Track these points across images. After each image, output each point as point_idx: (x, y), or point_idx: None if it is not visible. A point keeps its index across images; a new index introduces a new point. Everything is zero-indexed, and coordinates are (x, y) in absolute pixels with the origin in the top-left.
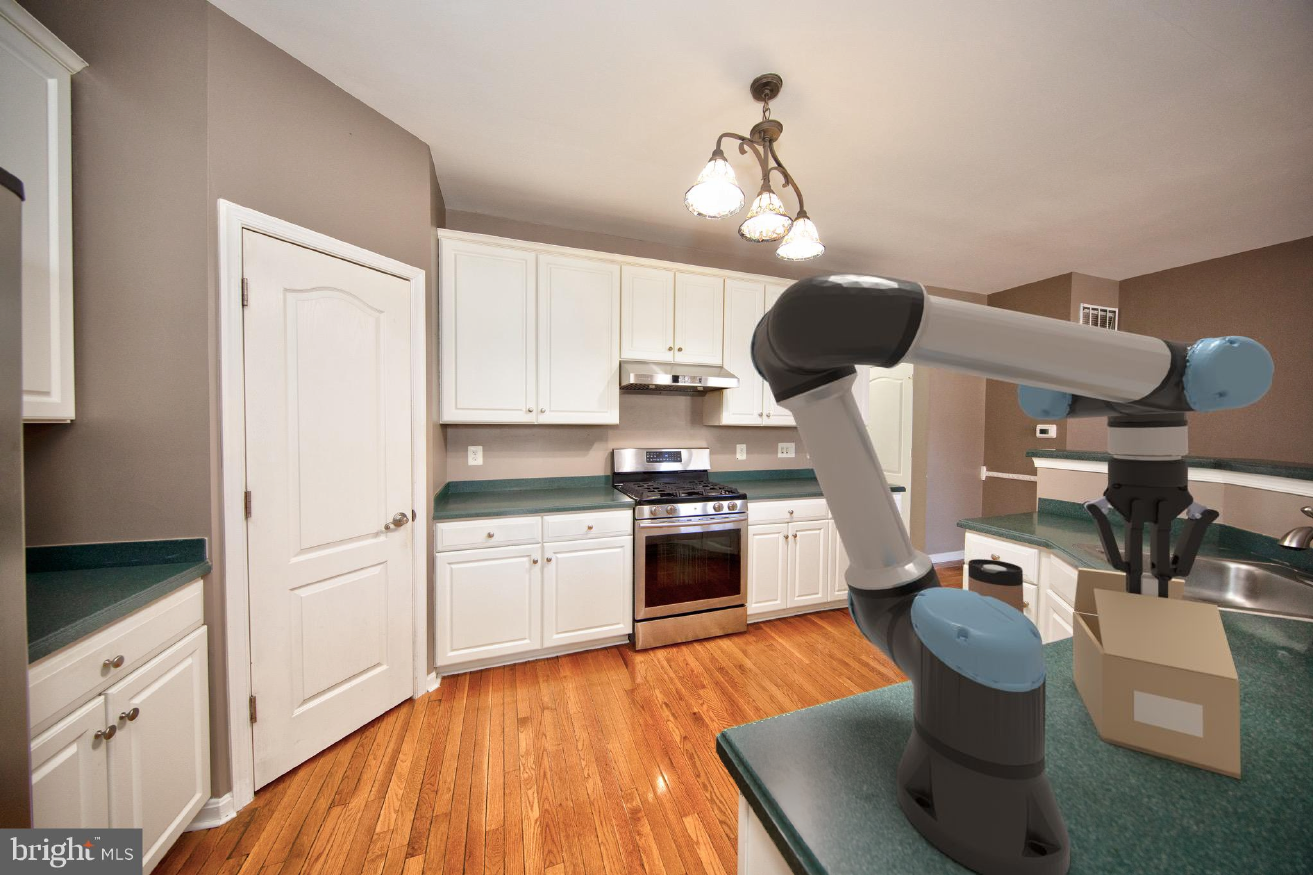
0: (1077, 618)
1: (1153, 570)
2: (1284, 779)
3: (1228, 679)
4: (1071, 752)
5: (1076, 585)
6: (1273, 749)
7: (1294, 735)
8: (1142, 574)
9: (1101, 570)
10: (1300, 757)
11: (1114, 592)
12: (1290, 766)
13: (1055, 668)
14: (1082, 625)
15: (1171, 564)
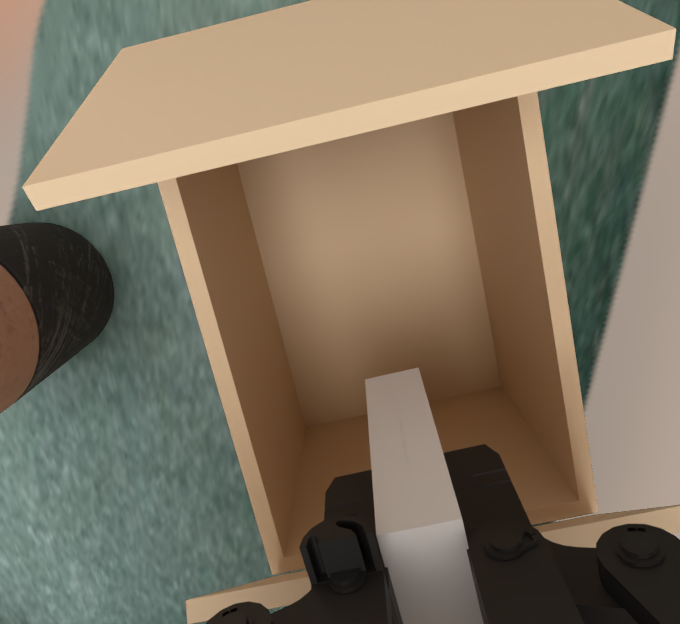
0: (157, 182)
1: (484, 616)
2: (584, 319)
3: (574, 516)
4: (253, 529)
5: (77, 113)
6: (604, 167)
7: (675, 17)
8: (414, 579)
9: (168, 151)
10: (646, 166)
11: (277, 603)
12: (612, 240)
13: (153, 26)
14: (187, 281)
15: (623, 611)
